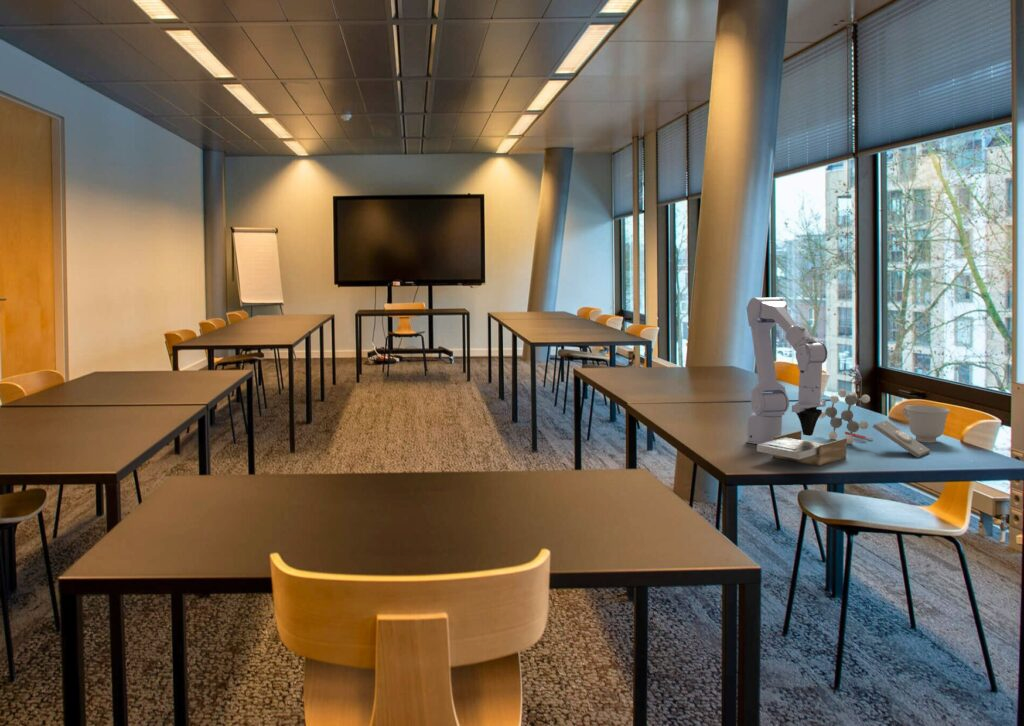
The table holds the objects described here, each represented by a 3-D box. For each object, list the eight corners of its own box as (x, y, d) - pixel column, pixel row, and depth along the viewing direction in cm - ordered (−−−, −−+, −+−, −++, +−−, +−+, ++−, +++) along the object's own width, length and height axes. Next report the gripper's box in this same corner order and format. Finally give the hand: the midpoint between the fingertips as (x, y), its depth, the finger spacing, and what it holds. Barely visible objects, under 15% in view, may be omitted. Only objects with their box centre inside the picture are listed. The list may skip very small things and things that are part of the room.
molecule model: (887, 453, 234) (900, 402, 233) (848, 444, 228) (862, 392, 227) (838, 440, 252) (850, 392, 252) (801, 431, 246) (813, 383, 246)
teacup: (917, 433, 249) (919, 402, 247) (957, 443, 235) (959, 410, 233) (887, 436, 245) (889, 404, 244) (926, 446, 231) (928, 413, 230)
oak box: (772, 457, 219) (773, 437, 218) (799, 449, 228) (799, 430, 227) (820, 466, 208) (821, 445, 207) (845, 458, 217) (846, 438, 216)
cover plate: (756, 451, 212) (756, 444, 211) (784, 443, 220) (784, 436, 220) (799, 459, 202) (799, 452, 202) (826, 451, 211) (826, 444, 211)
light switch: (921, 452, 216) (875, 421, 225) (909, 468, 219) (865, 437, 227) (932, 447, 222) (887, 417, 230) (921, 463, 225) (877, 433, 233)
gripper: (809, 391, 207) (807, 441, 209) (836, 385, 216) (834, 433, 218) (785, 387, 212) (783, 436, 214) (813, 382, 222) (810, 429, 223)
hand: (807, 434), depth 216 cm, fingers closed
